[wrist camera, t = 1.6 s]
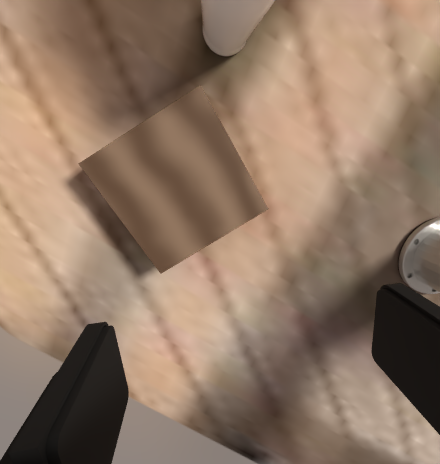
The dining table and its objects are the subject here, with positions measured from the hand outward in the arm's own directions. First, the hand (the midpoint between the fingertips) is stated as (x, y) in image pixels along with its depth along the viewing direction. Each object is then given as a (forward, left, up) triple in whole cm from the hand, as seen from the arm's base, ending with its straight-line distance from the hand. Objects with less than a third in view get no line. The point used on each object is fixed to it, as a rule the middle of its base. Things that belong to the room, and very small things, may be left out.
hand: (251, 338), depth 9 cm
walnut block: (+2, -4, -28) cm, 29 cm away
